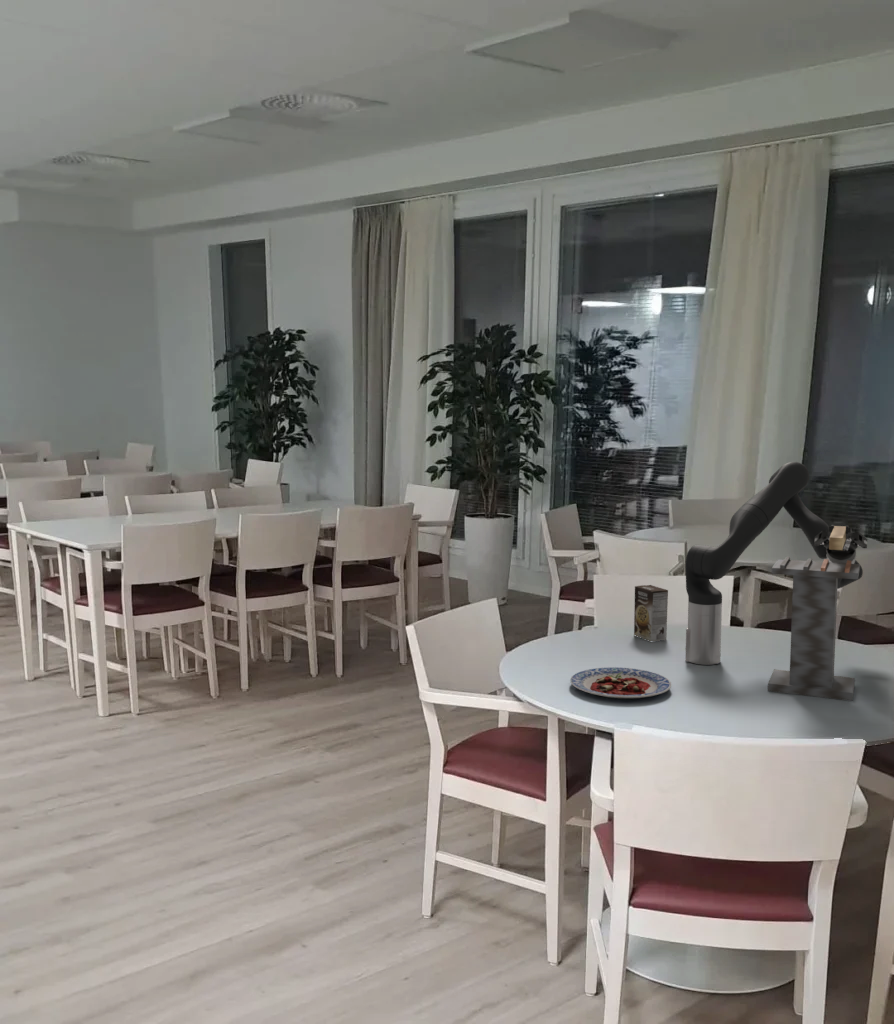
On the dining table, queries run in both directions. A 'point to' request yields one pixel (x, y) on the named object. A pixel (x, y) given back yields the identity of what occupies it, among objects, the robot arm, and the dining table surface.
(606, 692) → the ceramic plate
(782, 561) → the grey pedestal stand
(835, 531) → the oak bar
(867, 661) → the dining table surface
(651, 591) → the printed cardboard box
